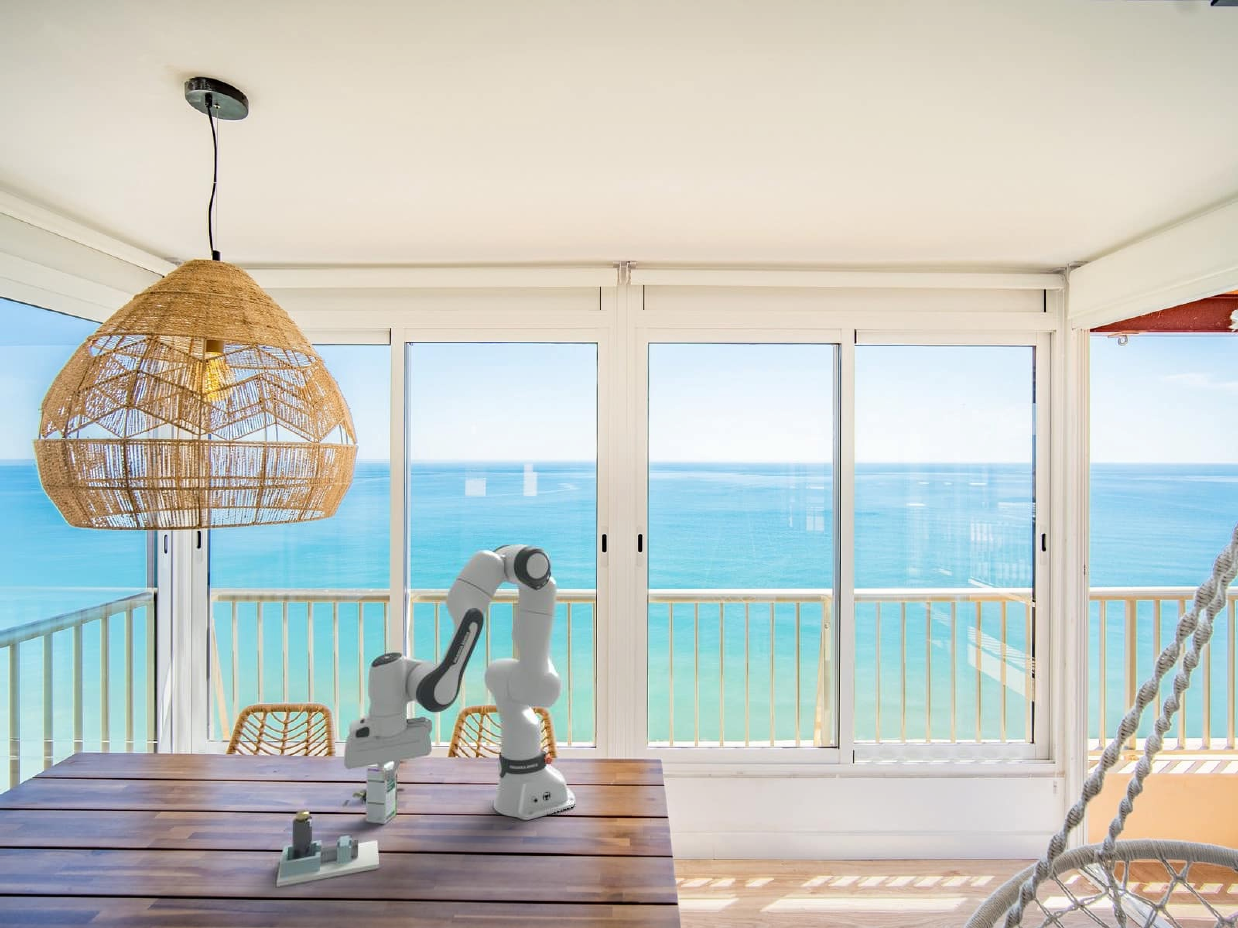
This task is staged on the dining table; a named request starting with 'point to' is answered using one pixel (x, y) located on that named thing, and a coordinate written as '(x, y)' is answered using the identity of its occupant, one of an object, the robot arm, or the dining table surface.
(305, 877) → the dock
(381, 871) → the dining table surface
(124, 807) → the dining table surface
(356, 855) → the pin
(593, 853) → the dining table surface
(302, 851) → the dark grey gold-tipped cylinder
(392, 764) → the syrup box
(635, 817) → the dining table surface
